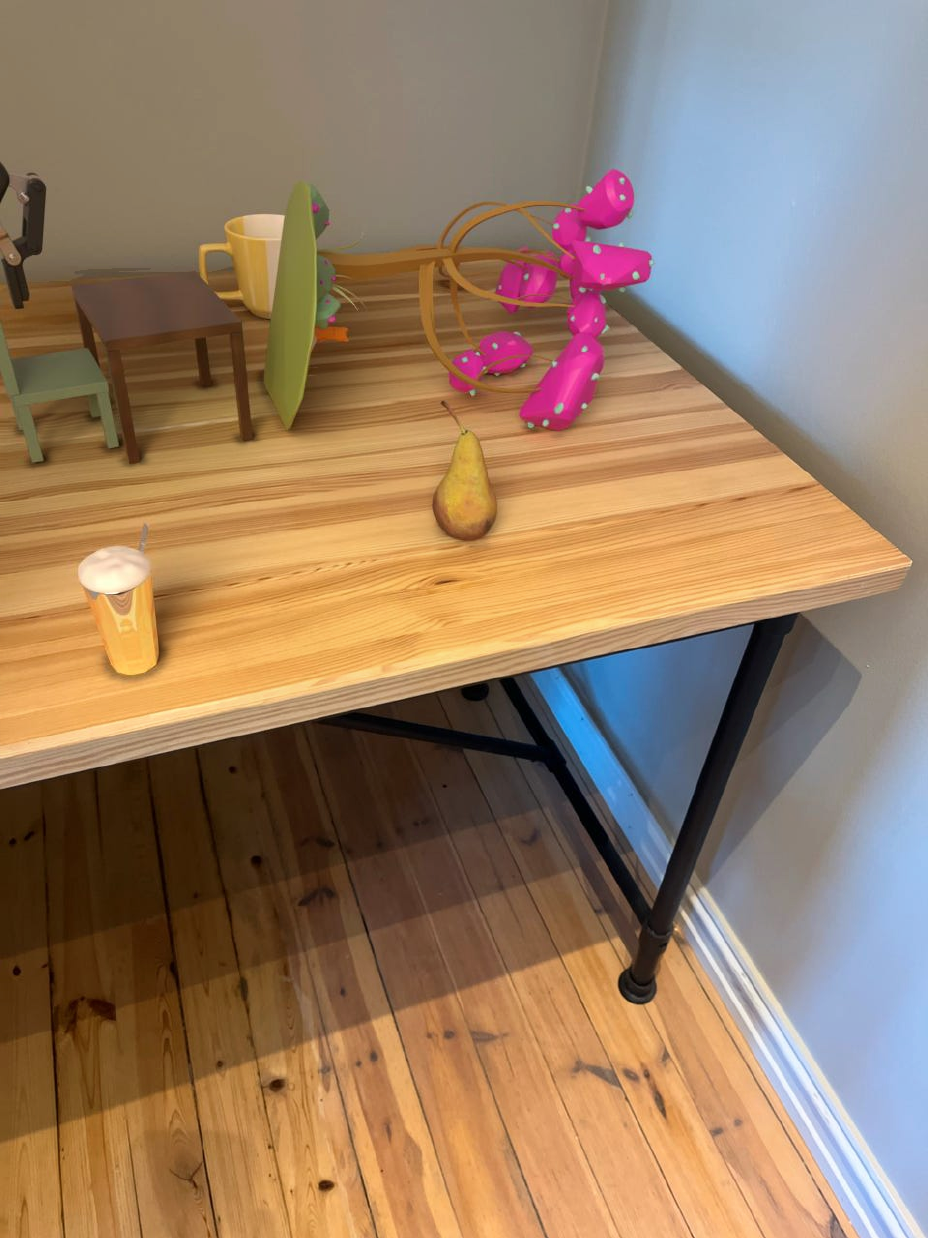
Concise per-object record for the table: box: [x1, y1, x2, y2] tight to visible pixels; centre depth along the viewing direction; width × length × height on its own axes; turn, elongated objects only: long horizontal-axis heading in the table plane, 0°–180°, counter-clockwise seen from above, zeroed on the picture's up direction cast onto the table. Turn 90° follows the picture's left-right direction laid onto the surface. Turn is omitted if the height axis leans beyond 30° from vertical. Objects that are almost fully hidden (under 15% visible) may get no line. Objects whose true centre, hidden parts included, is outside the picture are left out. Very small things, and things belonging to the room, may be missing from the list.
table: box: [70, 270, 254, 465], centre depth 89 cm, size 12×14×12 cm
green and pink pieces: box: [263, 168, 656, 431], centre depth 94 cm, size 30×28×35 cm
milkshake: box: [77, 523, 160, 676], centre depth 62 cm, size 4×5×10 cm
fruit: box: [431, 400, 498, 541], centre depth 76 cm, size 6×6×12 cm
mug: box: [198, 213, 285, 320], centre depth 112 cm, size 14×10×10 cm
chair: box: [0, 319, 120, 464], centre depth 83 cm, size 8×8×17 cm
